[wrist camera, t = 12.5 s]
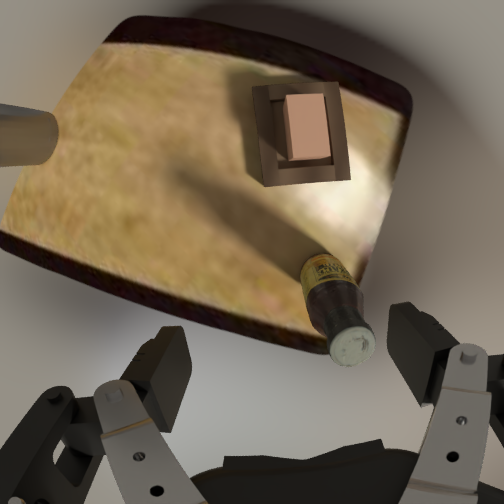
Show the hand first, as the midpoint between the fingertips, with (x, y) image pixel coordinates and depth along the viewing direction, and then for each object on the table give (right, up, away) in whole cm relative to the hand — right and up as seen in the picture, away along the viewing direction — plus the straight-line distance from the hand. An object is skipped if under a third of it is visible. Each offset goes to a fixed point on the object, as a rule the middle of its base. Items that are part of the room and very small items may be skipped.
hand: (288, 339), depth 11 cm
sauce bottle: (+8, +1, +31) cm, 32 cm away
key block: (+5, +18, +25) cm, 31 cm away
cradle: (+5, +19, +26) cm, 32 cm away
